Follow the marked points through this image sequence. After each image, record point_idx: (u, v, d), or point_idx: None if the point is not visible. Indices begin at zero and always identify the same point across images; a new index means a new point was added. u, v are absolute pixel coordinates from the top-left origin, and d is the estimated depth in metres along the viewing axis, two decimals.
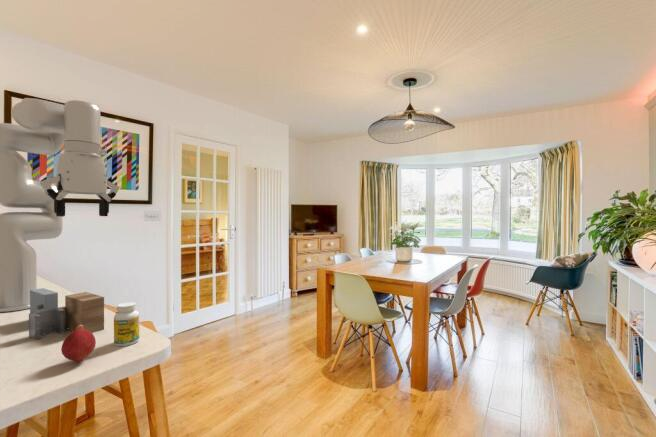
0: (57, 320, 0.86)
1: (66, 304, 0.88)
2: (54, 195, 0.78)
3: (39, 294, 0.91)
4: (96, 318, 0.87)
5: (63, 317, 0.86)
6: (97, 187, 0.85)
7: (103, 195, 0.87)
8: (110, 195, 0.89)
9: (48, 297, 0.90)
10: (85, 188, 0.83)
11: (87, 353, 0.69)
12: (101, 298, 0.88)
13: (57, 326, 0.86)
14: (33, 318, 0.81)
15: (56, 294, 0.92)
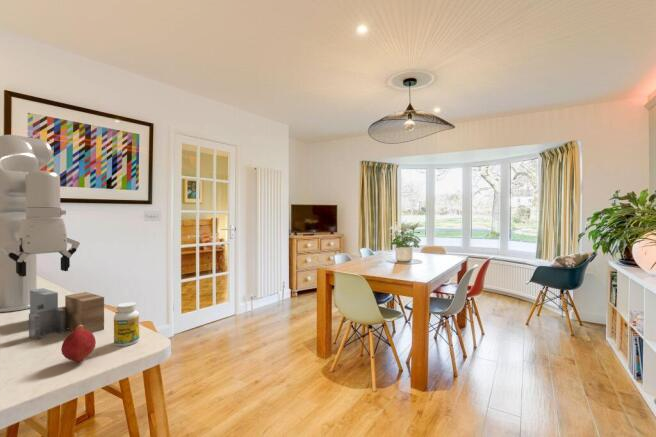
0: (57, 320, 0.86)
1: (66, 304, 0.88)
2: (15, 258, 0.87)
3: (39, 294, 0.91)
4: (96, 318, 0.87)
5: (63, 317, 0.86)
6: (57, 246, 0.94)
7: (63, 252, 0.96)
8: (71, 251, 0.98)
9: (48, 297, 0.90)
10: (45, 249, 0.91)
11: (87, 353, 0.69)
12: (101, 298, 0.88)
13: (57, 326, 0.86)
14: (33, 318, 0.81)
15: (56, 294, 0.92)
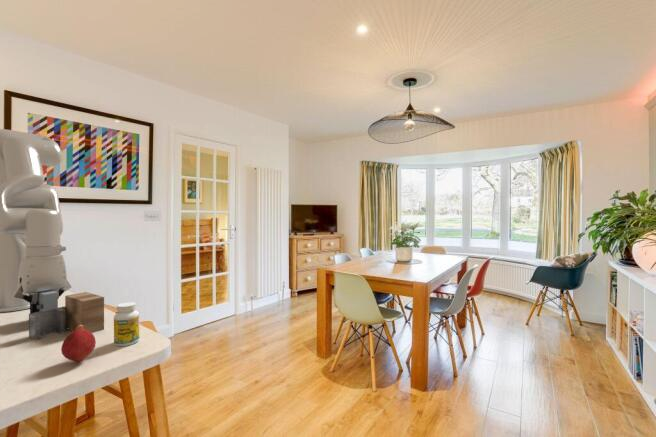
0: (57, 320, 0.86)
1: (66, 304, 0.88)
2: (29, 302, 0.90)
3: (39, 294, 0.91)
4: (96, 318, 0.87)
5: (63, 317, 0.86)
6: (57, 283, 0.94)
7: None
8: (58, 293, 0.96)
9: (48, 297, 0.90)
10: (44, 287, 0.92)
11: (87, 353, 0.69)
12: (101, 298, 0.88)
13: (57, 326, 0.86)
14: (33, 318, 0.81)
15: (56, 294, 0.92)
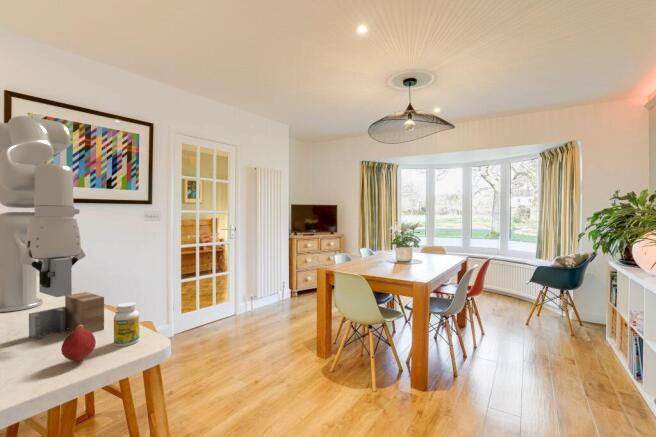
0: (57, 320, 0.86)
1: (66, 304, 0.88)
2: (38, 270, 0.78)
3: (50, 260, 0.79)
4: (96, 318, 0.87)
5: (63, 317, 0.86)
6: (70, 250, 0.82)
7: None
8: (71, 261, 0.84)
9: (60, 263, 0.78)
10: (56, 253, 0.80)
11: (87, 353, 0.69)
12: (101, 298, 0.88)
13: (57, 326, 0.86)
14: (33, 318, 0.81)
15: (69, 260, 0.80)
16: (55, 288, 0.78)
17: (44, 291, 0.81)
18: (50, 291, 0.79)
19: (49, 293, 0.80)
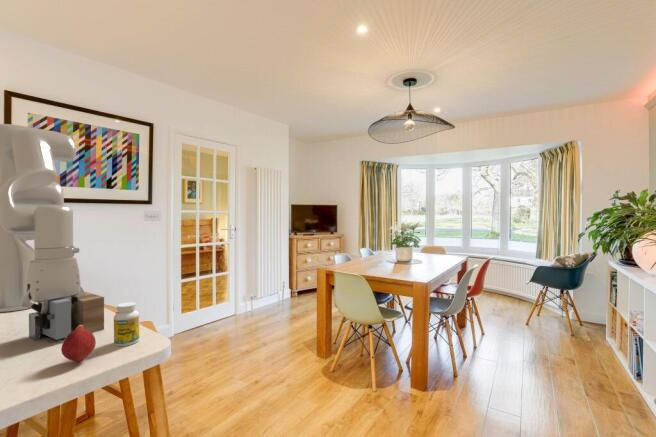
0: None
1: None
2: None
3: (50, 302, 0.80)
4: (96, 318, 0.87)
5: None
6: (69, 290, 0.83)
7: None
8: (71, 301, 0.84)
9: (60, 305, 0.79)
10: (56, 294, 0.80)
11: (87, 353, 0.69)
12: (101, 298, 0.88)
13: None
14: (33, 318, 0.81)
15: (69, 302, 0.80)
16: (54, 331, 0.78)
17: (44, 331, 0.81)
18: (50, 332, 0.80)
19: (49, 334, 0.80)
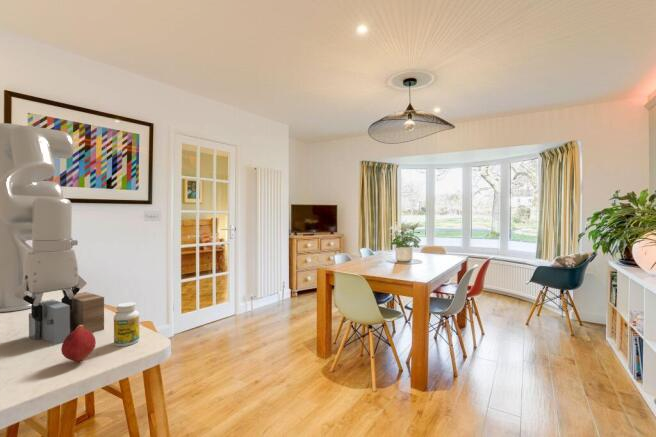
0: None
1: None
2: (30, 303, 0.77)
3: (49, 307, 0.79)
4: (96, 318, 0.87)
5: None
6: (67, 282, 0.83)
7: (67, 291, 0.83)
8: (73, 291, 0.85)
9: (59, 311, 0.78)
10: (53, 286, 0.80)
11: (87, 353, 0.69)
12: (101, 298, 0.88)
13: None
14: (33, 318, 0.81)
15: (68, 307, 0.80)
16: (53, 336, 0.78)
17: (43, 336, 0.81)
18: (49, 337, 0.80)
19: (48, 339, 0.80)
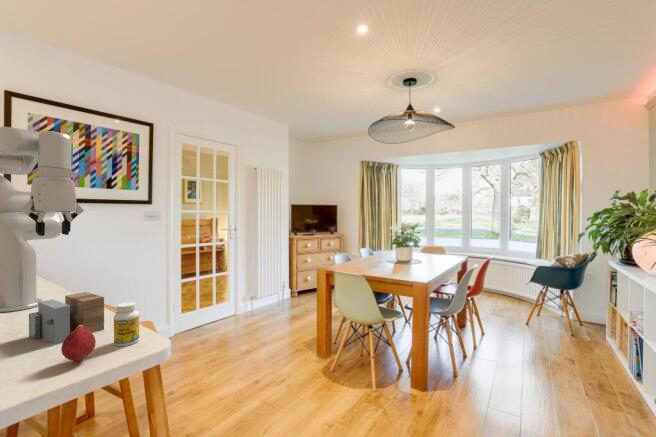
0: None
1: None
2: (34, 219, 0.92)
3: (49, 307, 0.79)
4: (96, 318, 0.87)
5: None
6: (66, 206, 0.97)
7: (67, 215, 0.98)
8: (72, 216, 0.99)
9: (59, 311, 0.78)
10: (55, 207, 0.95)
11: (87, 353, 0.69)
12: (101, 298, 0.88)
13: None
14: (33, 318, 0.81)
15: (68, 307, 0.80)
16: (53, 336, 0.78)
17: (43, 336, 0.81)
18: (49, 337, 0.80)
19: (48, 339, 0.80)
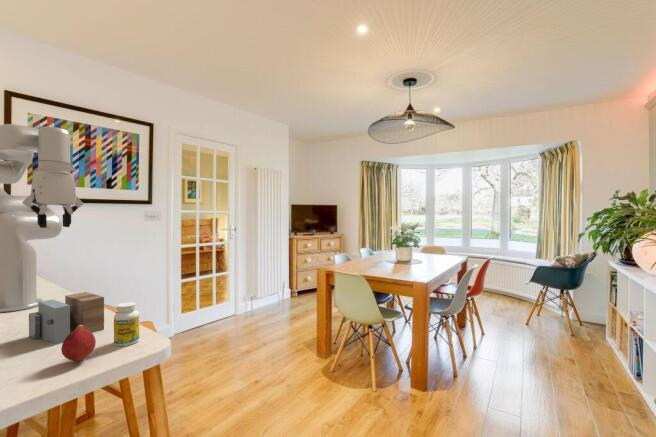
0: None
1: None
2: (36, 211, 0.95)
3: (49, 307, 0.79)
4: (96, 318, 0.87)
5: None
6: (67, 199, 1.00)
7: (67, 207, 1.01)
8: (72, 208, 1.02)
9: (59, 311, 0.78)
10: (56, 200, 0.98)
11: (87, 353, 0.69)
12: (101, 298, 0.88)
13: None
14: (33, 318, 0.81)
15: (68, 307, 0.80)
16: (53, 336, 0.78)
17: (43, 336, 0.81)
18: (49, 337, 0.80)
19: (48, 339, 0.80)
